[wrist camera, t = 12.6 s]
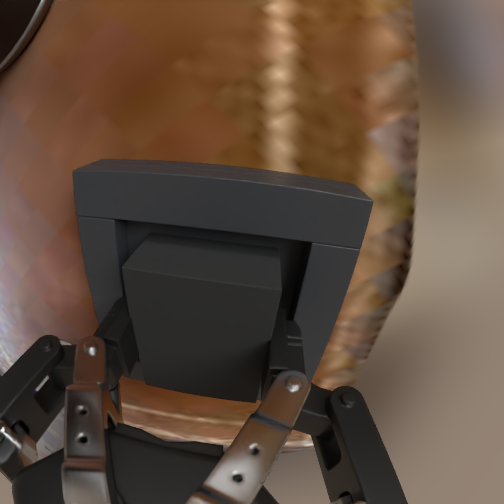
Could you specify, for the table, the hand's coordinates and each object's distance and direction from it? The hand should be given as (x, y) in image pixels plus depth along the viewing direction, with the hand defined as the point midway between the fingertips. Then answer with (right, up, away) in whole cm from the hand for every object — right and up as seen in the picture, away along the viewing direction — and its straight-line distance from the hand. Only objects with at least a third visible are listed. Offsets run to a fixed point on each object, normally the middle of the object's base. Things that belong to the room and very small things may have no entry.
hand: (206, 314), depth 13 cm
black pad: (0, 0, +1) cm, 1 cm away
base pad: (0, +1, +2) cm, 2 cm away
